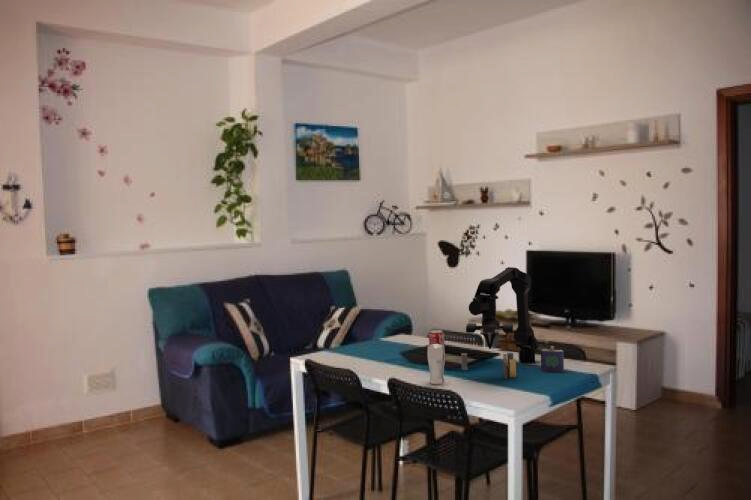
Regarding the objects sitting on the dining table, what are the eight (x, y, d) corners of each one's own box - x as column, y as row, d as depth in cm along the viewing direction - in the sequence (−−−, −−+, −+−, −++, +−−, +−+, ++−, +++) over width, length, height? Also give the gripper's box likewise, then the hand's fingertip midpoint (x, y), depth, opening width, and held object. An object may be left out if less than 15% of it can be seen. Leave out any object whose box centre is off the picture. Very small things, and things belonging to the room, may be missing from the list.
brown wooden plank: (503, 367, 268) (503, 354, 268) (508, 367, 268) (508, 354, 267) (504, 378, 253) (504, 364, 252) (510, 378, 252) (509, 364, 252)
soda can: (444, 354, 295) (443, 329, 294) (444, 358, 288) (444, 332, 287) (429, 354, 296) (428, 329, 295) (429, 358, 289) (428, 333, 288)
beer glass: (427, 380, 256) (425, 344, 254) (443, 379, 256) (442, 343, 255) (429, 385, 249) (428, 348, 247) (447, 384, 249) (446, 347, 248)
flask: (563, 370, 262) (563, 345, 261) (563, 372, 259) (563, 347, 258) (541, 369, 264) (540, 345, 263) (540, 371, 261) (540, 346, 260)
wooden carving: (497, 351, 296) (497, 331, 295) (498, 349, 301) (497, 328, 300) (533, 352, 292) (533, 331, 292) (533, 350, 297) (532, 329, 296)
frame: (512, 368, 268) (512, 352, 268) (516, 377, 255) (516, 361, 254) (461, 368, 270) (461, 353, 270) (462, 377, 257) (462, 361, 257)
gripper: (464, 315, 249) (465, 353, 250) (512, 315, 245) (513, 354, 246) (466, 309, 259) (467, 346, 261) (512, 309, 255) (513, 347, 257)
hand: (490, 348), depth 256 cm, fingers closed
